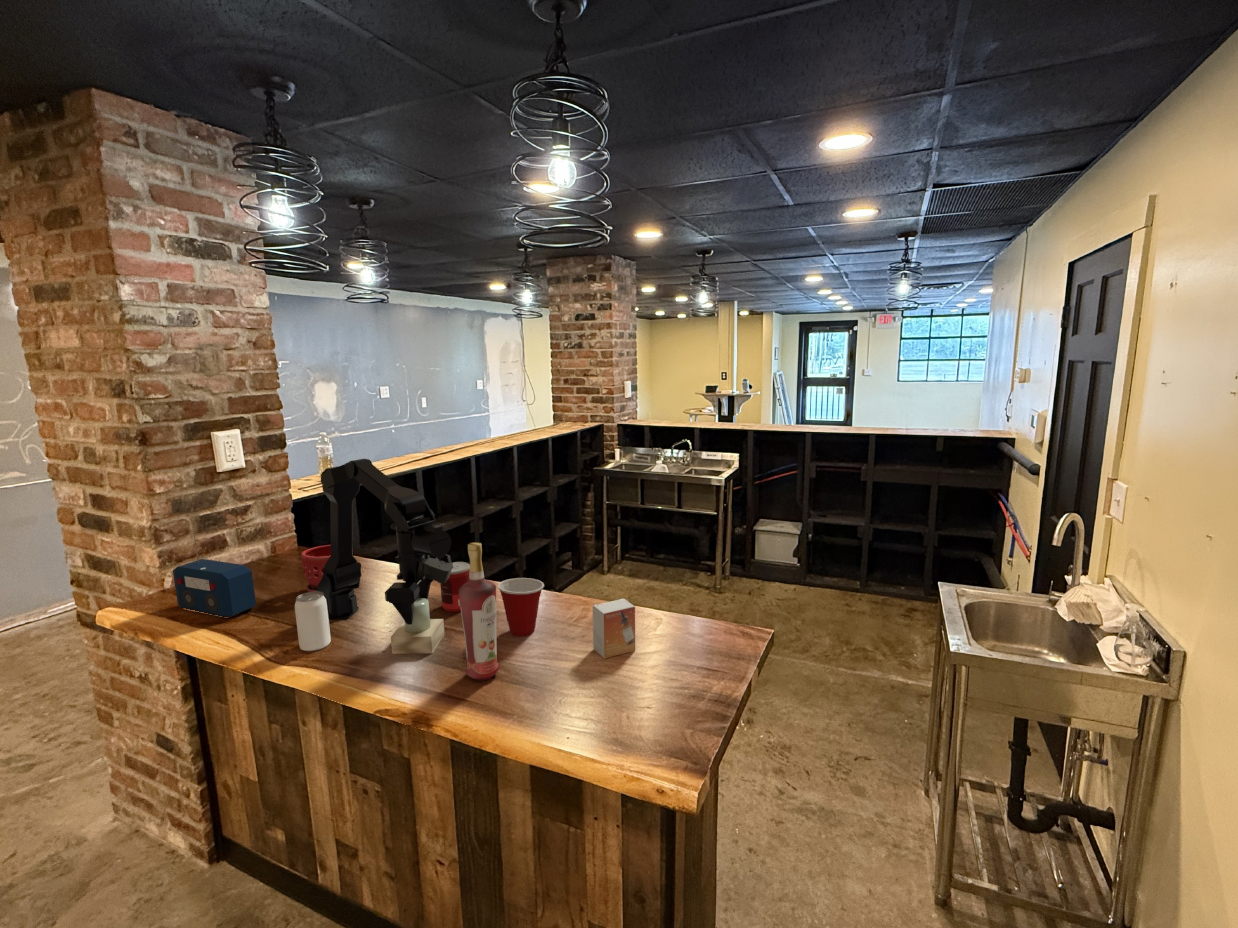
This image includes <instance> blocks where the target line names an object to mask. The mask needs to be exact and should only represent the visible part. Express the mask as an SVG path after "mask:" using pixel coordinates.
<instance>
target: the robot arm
mask: <svg viewBox="0 0 1238 928" xmlns="http://www.w3.org/2000/svg"><path fill="white" fill-rule="evenodd" d="M320 484H321V486H322V487H321V488H322V492H323V494H324V495H325V496H326V497H327V499H328V500H329V503H330V506H329V508H330V509H329V511H330V514H329V515H330V516H329V517H330V519H329V520H330V545H331V555H330V557H329V559H328V561H327V562H326V564H325V565H324V571H323V577H322V579H321V580H320V582H319V584H318V585H317V587H316V588H317V591H318V592H322V593H323V594H324V595H323V596H324V597H325V598H326V602H327V610H328V619H329V620H345V619H346V620H347V619H350V618H351V617H352V615H354V614H355V613H356V612H357V611H358V610H359V609H360V607H359V606H358V602H357V601H358V600H357V595H356V594H355V589H356V590H357V589H359V588H360V585H361V578H362V576H363V575H362V564H361V562H360V561H358V560H357V559H356V558H355V556H354V552H353V553H352V549H353V501H354V500H355V498H356V496H357V495H358V493H359V492H360V486H361V485H362V486H363V487H364V488H365V489H367V490H368V491H369V492H370V493H371V494H373V495H374V496H375V497H376V498H378V500H379V501H381V502H382V503H383V504H384V511H385V512H386V514H387V515H388V516H389V517H390V518H391V520H392V521H393V523H392V524H391V525H390V527H389V528H390V529H391V530H394V531H395V532H396V543H397V544H396V545H397V546H396V547H397V556H395V557H394V561H395V563H398V568H399V569H398V570H399V573H398V574H397V575H396V582H393V583H392V585H390V586H389V587H388V588H387V589H386V591H384V598H385V602H387V603H389V604H392V606H393V607H394V608H395V609H396V611H397V612H398V613H399V614H400V616H401V618H402V619H403V622H404V621H405V622H406V624H408V625H411V624H412V623H413V611H414V602H415V601H416V600H417V599H418V598H425V599H427V600H428V601H429V599H428V598H429V594H430V588H431V584H432V582H434V581H436V582H437V583H439V584H440V583H445V582H446V581H447V579H449V577H450V573H451V570H452V568H453V562H452V558H451V555H449V554H448V553H449V551H450V550H451V546H452V538H451V537H450V536H451V535H449V533H448V532H447V531H445V530H443V529H444V528H443V527H444V526H443V525H441V524H437V523H438V520H437V519H436V516H435V515H436V514H434V512H433V510H432V509H431V507H430V505H429V504H428V502H427V500H426V498H425V497H424V496H425V495H423V494H422V493H421V492H418V491H417V490H415V489H413V488H409V487H403V486H401V485H400V484H397V483H396V482H395V481H393V479H392V478H390V477H389V476H388V475H386V474H385V473H383V471H381V470H380V469H379V468H377V467H376V466H375V465H374V464H373V462H372V460H370V459H369V458H360V459H359V458H358V459H354V460H350V461H348V462H346V463H344V464H341V465H339V466H332V467H327V468H325V469H324V470H323V471H322V472H321V475H320ZM430 556H431V557H430ZM399 580H400V581H399ZM397 581H399V582H397ZM401 581H402V582H401Z"/></svg>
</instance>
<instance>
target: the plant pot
mask: <svg viewBox="0 0 1238 928" xmlns="http://www.w3.org/2000/svg"><path fill="white" fill-rule="evenodd" d="M352 553H353V554H354V551H353V548H352ZM330 556H331V544H327V545H325V544H324V545H319V546H315V547H311V548H308V549H305V550H303V551H302V552H301V557H300V558H301V567H302V571H303V575H304V577H305V580H306V582H307V583H308V584H307V585H306V588H305V589H306V591H307V593H308V592H318V591H317V588H316V587H317V585H318V584H319V582H320V580H321V579H322V577H323V571H324V565H325V564H326V562H327V561H328V559H329V557H330Z"/></svg>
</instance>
